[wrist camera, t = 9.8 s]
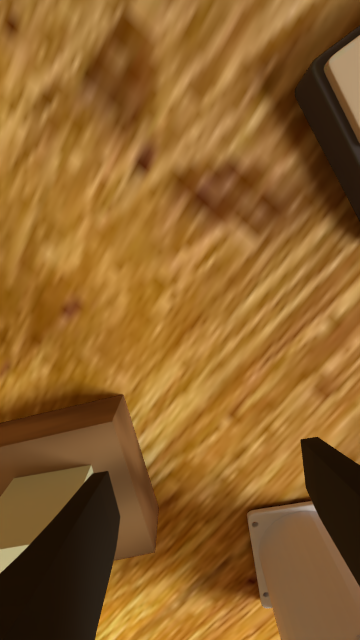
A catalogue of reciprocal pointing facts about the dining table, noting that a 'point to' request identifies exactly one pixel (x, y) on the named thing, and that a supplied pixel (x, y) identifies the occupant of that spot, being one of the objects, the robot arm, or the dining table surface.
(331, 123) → the red cream box
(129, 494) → the walnut riser
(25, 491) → the sage cube
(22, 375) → the dining table surface
